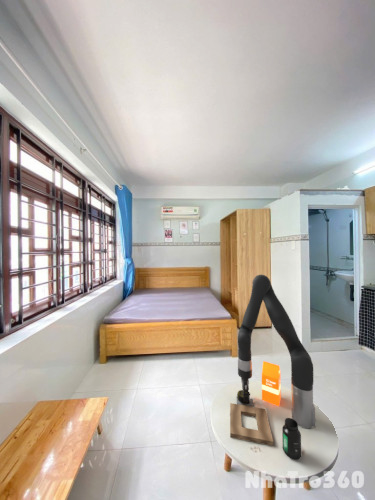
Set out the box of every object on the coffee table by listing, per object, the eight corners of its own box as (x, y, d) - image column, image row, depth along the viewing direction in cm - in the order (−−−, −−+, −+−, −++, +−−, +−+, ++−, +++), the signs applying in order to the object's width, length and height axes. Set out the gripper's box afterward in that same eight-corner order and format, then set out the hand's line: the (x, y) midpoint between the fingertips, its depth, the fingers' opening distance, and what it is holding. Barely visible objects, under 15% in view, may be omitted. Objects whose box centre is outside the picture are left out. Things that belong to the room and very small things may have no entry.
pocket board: (265, 412, 99) (265, 409, 99) (273, 446, 81) (273, 441, 82) (230, 406, 103) (230, 403, 103) (230, 437, 85) (230, 433, 85)
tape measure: (249, 406, 101) (249, 399, 101) (236, 403, 104) (236, 396, 104) (250, 398, 107) (250, 391, 108) (237, 394, 110) (237, 388, 110)
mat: (252, 399, 108) (252, 398, 108) (254, 410, 100) (254, 409, 100) (236, 396, 110) (236, 396, 110) (236, 407, 102) (236, 406, 102)
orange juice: (278, 406, 103) (278, 369, 104) (261, 399, 108) (261, 363, 109) (281, 397, 109) (280, 362, 110) (264, 391, 114) (264, 357, 115)
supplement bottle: (285, 458, 76) (284, 427, 77) (280, 442, 83) (280, 414, 83) (304, 462, 75) (303, 431, 75) (298, 446, 81) (297, 417, 82)
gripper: (237, 358, 114) (237, 387, 113) (238, 373, 100) (238, 405, 99) (250, 360, 112) (250, 389, 111) (253, 375, 98) (253, 408, 97)
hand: (245, 396), depth 105 cm, fingers closed on tape measure, 7 cm apart
